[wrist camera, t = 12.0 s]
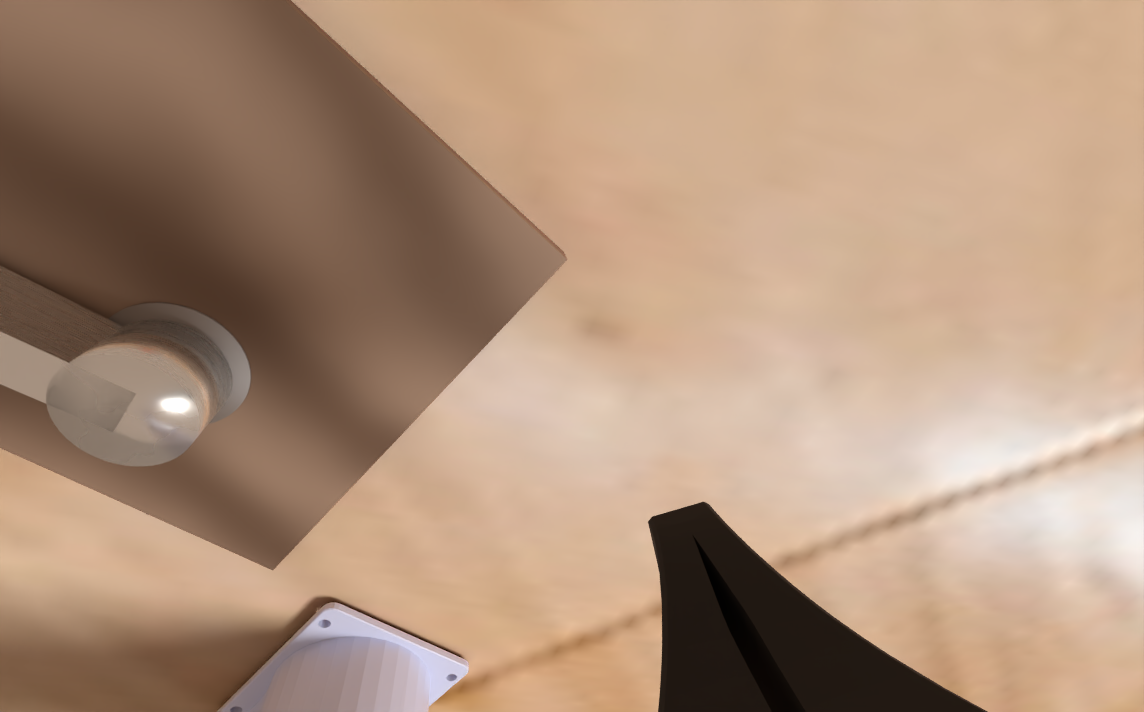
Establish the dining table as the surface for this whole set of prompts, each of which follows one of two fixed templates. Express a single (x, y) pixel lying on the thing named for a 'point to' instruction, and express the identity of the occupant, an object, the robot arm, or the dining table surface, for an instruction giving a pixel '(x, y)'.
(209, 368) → the cap handle
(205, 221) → the base board
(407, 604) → the dining table surface
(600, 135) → the dining table surface
